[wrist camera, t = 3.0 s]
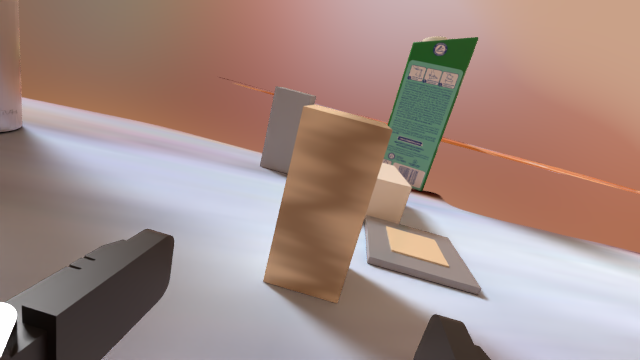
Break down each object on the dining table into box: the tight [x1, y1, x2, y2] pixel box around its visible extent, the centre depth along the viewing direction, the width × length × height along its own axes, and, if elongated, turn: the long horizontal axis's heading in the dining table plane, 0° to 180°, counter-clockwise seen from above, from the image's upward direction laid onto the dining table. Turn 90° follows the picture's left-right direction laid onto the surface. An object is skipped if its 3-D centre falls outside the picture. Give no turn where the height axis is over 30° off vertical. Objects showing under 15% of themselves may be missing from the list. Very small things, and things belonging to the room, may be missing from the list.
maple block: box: [263, 105, 392, 303], centre depth 19 cm, size 5×5×11 cm
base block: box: [365, 163, 412, 224], centre depth 38 cm, size 10×10×5 cm
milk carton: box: [382, 37, 478, 191], centre depth 53 cm, size 9×9×25 cm
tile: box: [365, 215, 481, 295], centre depth 28 cm, size 9×9×1 cm
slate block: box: [260, 87, 316, 174], centre depth 43 cm, size 5×5×11 cm
